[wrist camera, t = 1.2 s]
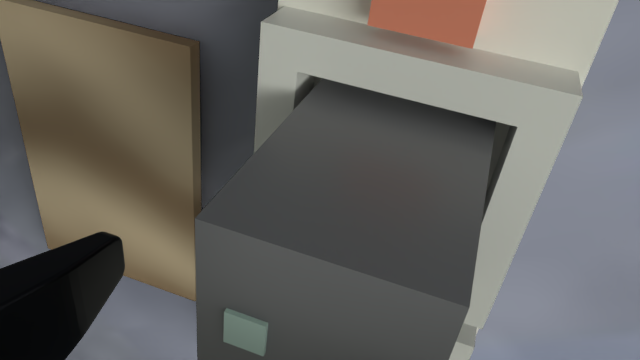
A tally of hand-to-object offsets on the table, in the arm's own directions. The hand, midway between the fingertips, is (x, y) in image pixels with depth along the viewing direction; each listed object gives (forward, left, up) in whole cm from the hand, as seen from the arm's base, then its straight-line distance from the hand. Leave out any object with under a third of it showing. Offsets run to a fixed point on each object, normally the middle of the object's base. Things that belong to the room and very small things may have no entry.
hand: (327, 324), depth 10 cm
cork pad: (-5, +12, -9) cm, 15 cm away
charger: (0, 0, -6) cm, 6 cm away
